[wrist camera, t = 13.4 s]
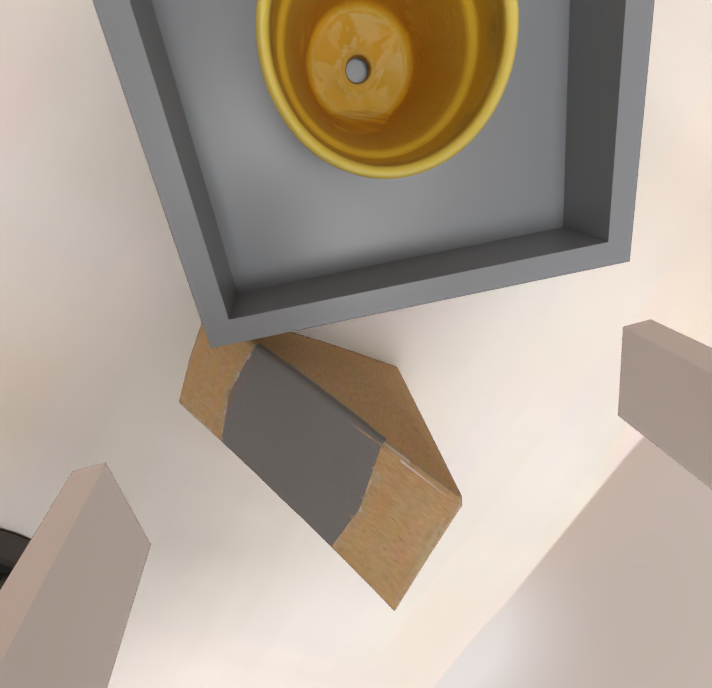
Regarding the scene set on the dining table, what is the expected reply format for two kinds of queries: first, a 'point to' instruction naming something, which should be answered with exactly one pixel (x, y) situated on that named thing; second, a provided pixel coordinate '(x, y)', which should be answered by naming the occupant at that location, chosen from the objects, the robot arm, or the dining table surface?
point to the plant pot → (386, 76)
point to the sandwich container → (331, 447)
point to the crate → (381, 196)
